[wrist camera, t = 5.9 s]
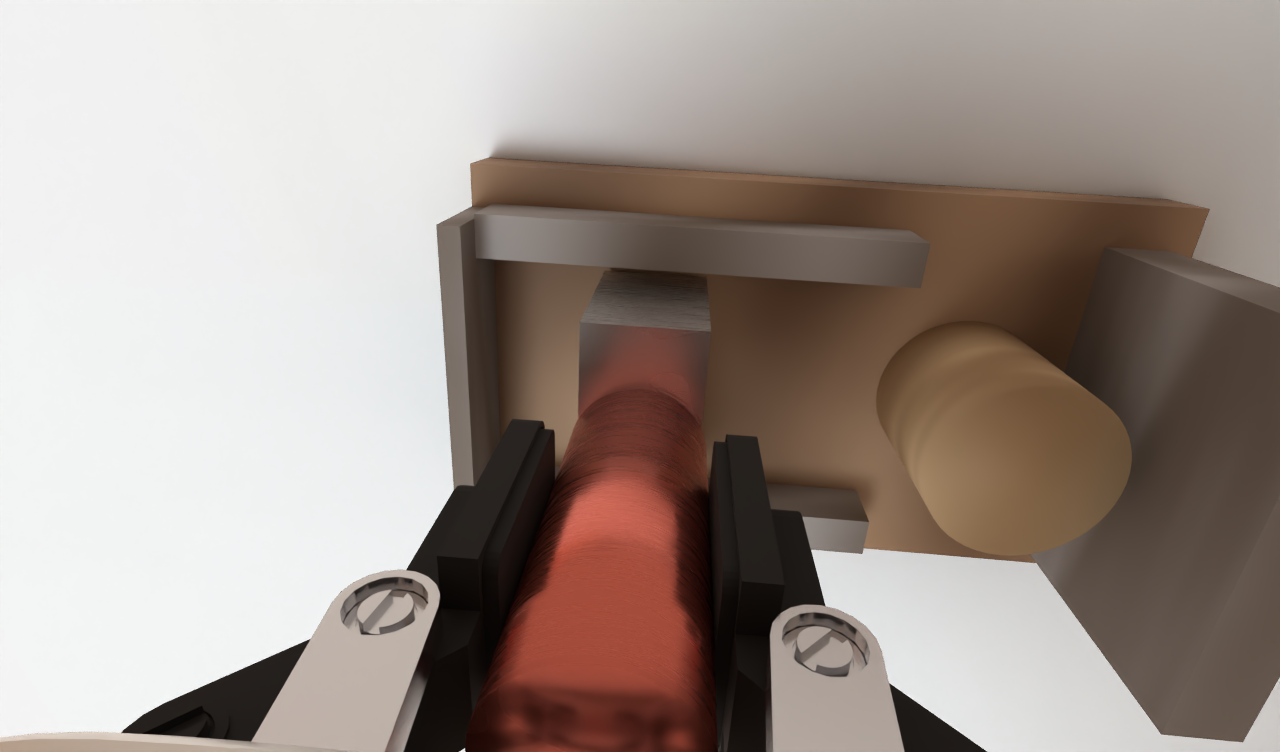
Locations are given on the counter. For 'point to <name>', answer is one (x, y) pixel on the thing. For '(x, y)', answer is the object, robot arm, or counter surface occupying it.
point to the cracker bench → (873, 333)
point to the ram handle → (619, 548)
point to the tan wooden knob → (1001, 439)
